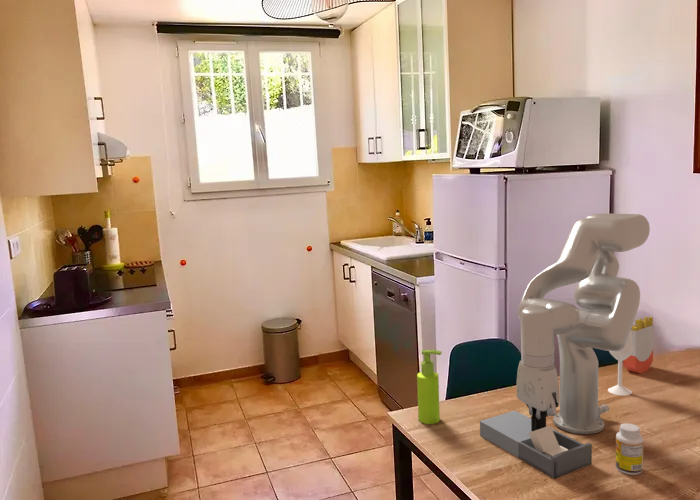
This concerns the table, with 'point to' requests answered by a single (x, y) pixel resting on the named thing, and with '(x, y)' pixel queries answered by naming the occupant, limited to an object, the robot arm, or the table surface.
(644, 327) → the french fries container
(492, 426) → the grey box sleeve
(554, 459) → the box
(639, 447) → the supplement bottle
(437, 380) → the soap dispenser
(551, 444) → the rear tile
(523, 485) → the table surface
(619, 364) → the champagne flute
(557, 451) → the front tile
